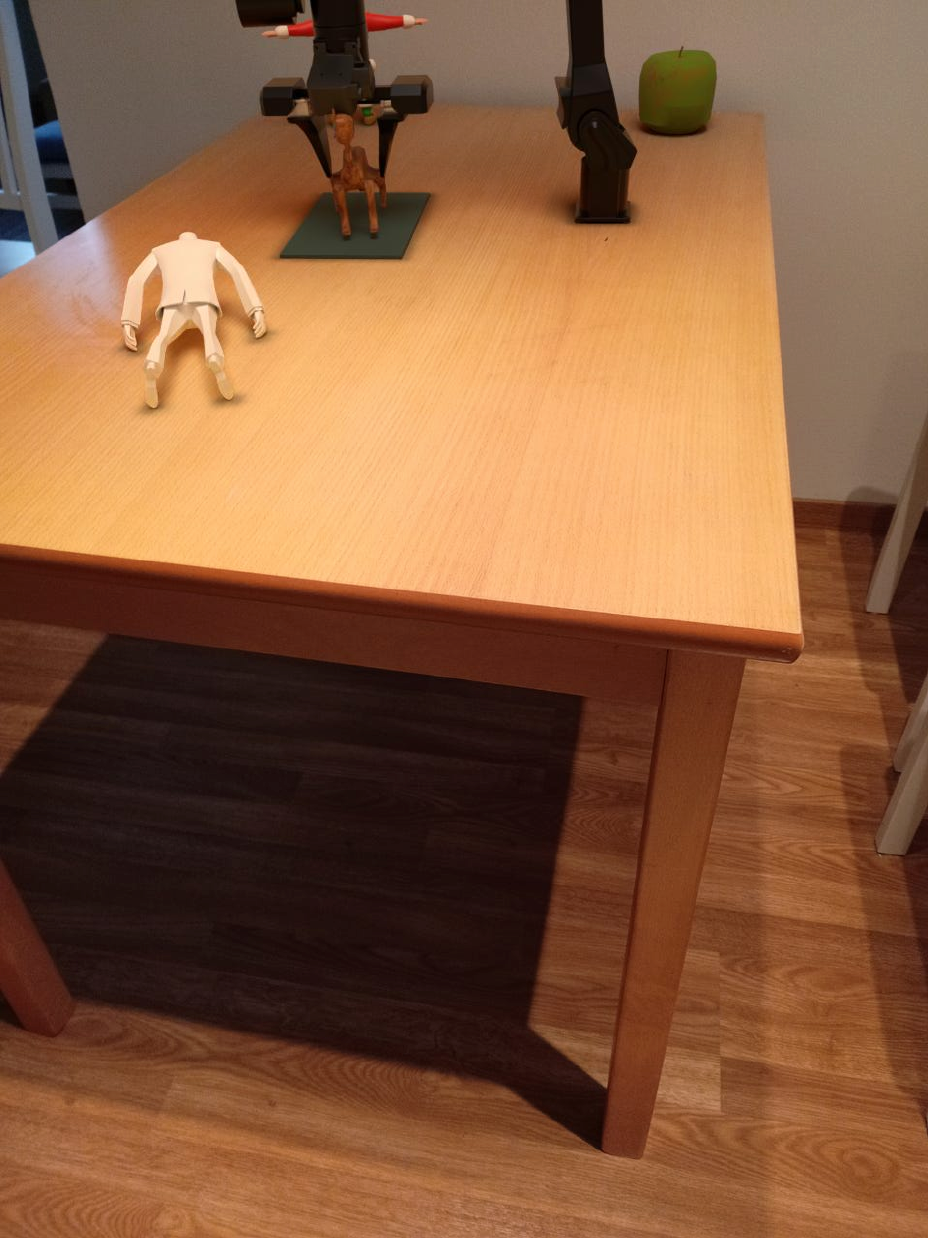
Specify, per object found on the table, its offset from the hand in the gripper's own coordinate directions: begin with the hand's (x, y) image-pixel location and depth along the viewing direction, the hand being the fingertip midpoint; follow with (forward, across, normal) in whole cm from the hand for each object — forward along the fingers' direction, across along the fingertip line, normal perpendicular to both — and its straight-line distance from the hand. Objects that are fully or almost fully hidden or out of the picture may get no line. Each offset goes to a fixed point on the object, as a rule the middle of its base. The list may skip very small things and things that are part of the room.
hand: (355, 176), depth 115 cm
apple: (+6, +39, +42) cm, 57 cm away
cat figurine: (+5, 0, 0) cm, 5 cm away
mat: (+5, 0, 0) cm, 5 cm away
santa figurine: (+6, -10, +46) cm, 47 cm away
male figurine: (+6, -9, -34) cm, 36 cm away
